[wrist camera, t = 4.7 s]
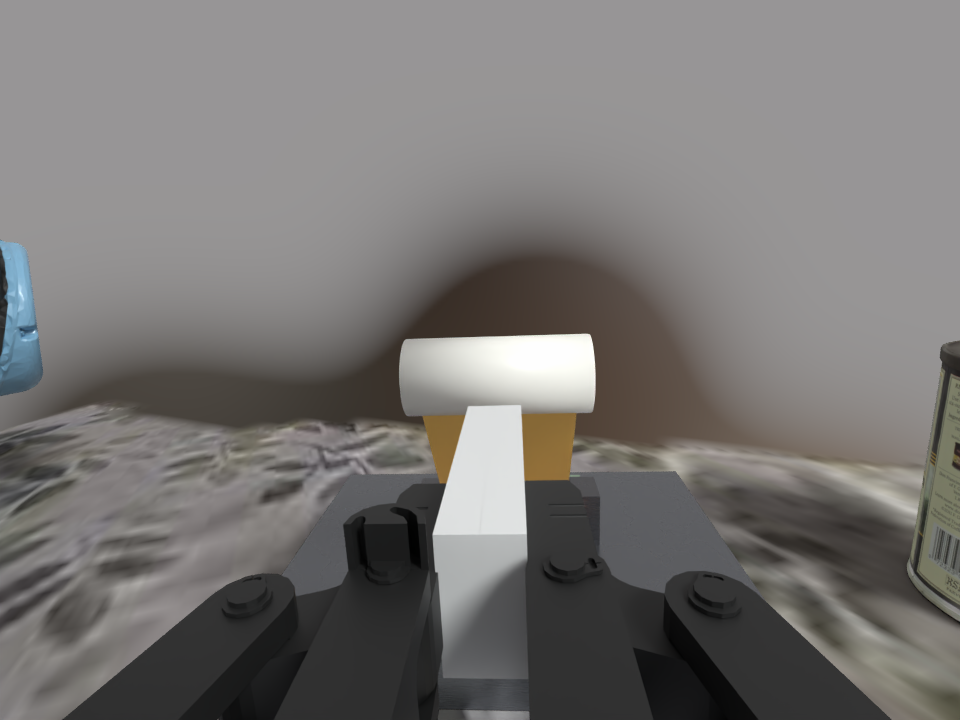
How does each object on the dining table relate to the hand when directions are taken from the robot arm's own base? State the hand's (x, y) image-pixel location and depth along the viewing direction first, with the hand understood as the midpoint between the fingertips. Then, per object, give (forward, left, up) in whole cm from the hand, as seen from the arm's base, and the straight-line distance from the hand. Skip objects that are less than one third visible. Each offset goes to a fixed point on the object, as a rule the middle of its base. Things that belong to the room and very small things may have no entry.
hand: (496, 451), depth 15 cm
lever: (-7, +12, -11) cm, 17 cm away
